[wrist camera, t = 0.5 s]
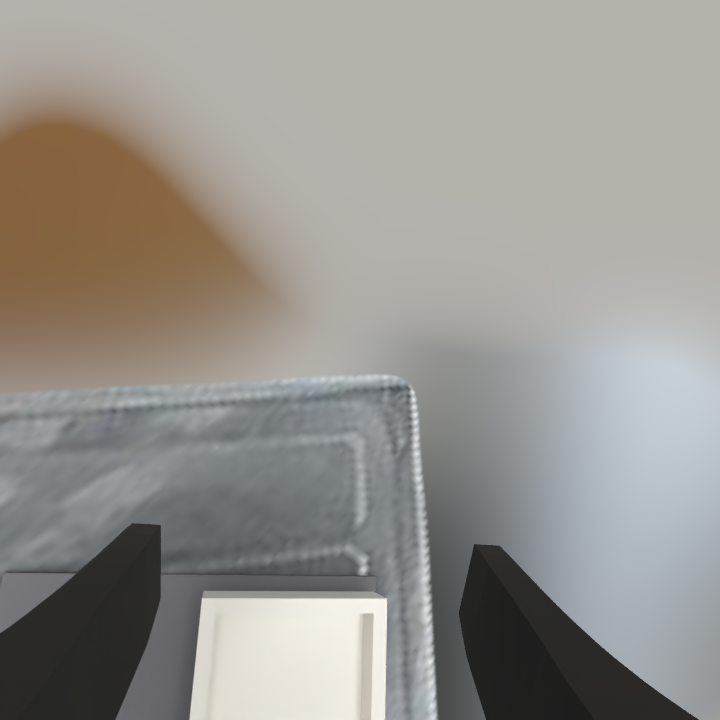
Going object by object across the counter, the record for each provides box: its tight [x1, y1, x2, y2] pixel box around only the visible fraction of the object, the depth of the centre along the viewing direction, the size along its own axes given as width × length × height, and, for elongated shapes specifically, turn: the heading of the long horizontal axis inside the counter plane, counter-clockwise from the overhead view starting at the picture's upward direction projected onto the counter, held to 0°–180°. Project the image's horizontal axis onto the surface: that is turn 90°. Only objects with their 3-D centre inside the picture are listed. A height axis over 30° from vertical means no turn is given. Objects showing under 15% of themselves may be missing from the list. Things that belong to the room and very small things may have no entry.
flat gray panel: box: [0, 572, 376, 720], centre depth 34 cm, size 12×23×1 cm, turn 88°
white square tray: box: [189, 591, 387, 720], centre depth 32 cm, size 11×11×5 cm
